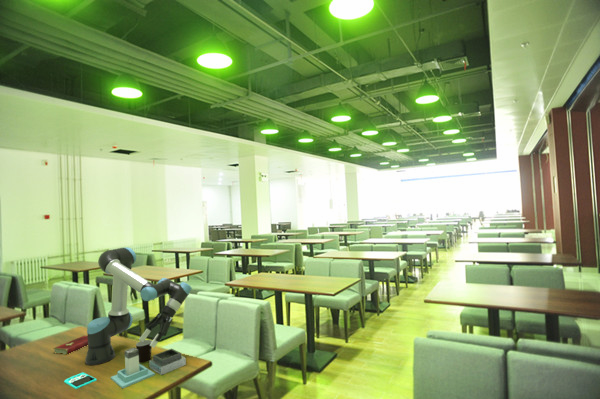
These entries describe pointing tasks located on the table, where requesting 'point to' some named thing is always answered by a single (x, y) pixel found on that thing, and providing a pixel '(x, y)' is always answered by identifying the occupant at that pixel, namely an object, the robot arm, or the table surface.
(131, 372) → the plug block
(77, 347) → the hardcover book
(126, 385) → the lower socket plate
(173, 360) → the upper socket stand
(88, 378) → the handheld game console
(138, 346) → the coffee mug
